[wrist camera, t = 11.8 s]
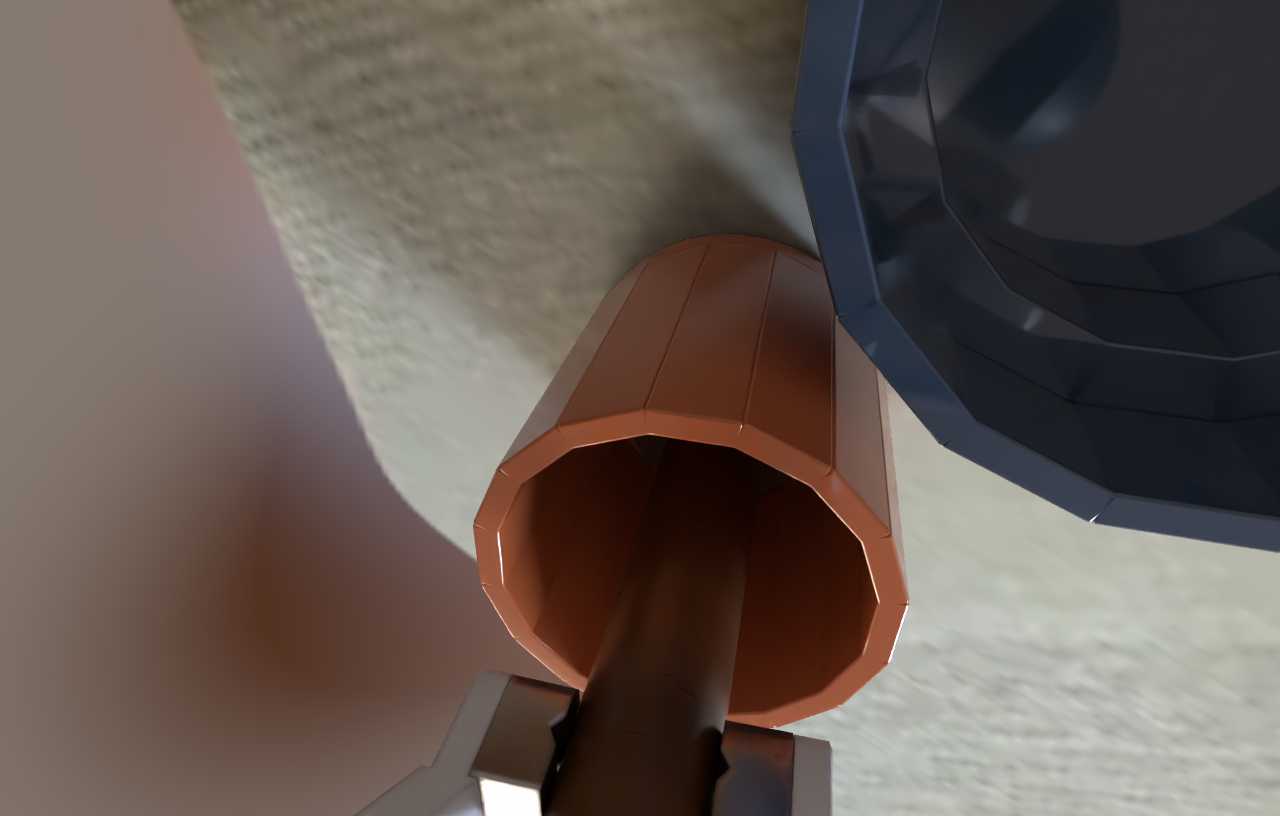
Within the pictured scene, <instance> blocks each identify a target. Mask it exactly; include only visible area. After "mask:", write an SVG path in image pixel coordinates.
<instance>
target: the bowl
mask: <svg viewBox="0 0 1280 816" xmlns="http://www.w3.org/2000/svg"><path fill="white" fill-rule="evenodd" d="M790 129H791V136H790V139H791V143H792V147H793V151H794V155H795V159H796V163H797V167H798V171H799V175H800V178H801V182H802V186H803V190H804V194H805V198H806V202H807V206H808V210H809V213H810V217H811V221H812V225H813V229H814V233H815V237H816V241H817V245H818V249H819V252H820V256H821V260H822V264H823V268H824V272H825V276H826V280H827V284H828V288H829V291H830V295H831V299H832V303H833V307H834V311H835V314H836V315H837V316H838V321H839V322H840V324H841V325H842V326H843V327H844V328H845V330H846V331H847V332H848V333H849V335H850V336H851V337H852V338H853V339H854V341H855V342H856V343H857V344H858V346H859V347H860V348H861V349H862V350H863V352H864V353H865V354H866V355H867V357H868V358H869V359H870V360H871V361H872V363H873V364H874V365H875V366H876V368H877V369H878V370H879V371H880V372H881V374H882V375H883V376H884V377H885V379H886V380H887V381H888V382H889V383H890V385H891V386H892V387H893V388H894V390H895V391H896V392H897V393H898V394H899V396H900V397H901V398H902V399H903V400H904V402H905V403H906V404H907V405H908V407H909V408H910V409H911V410H912V411H913V413H914V414H915V415H916V416H917V418H918V419H919V420H920V421H921V422H922V424H923V425H924V426H925V427H926V429H927V430H928V431H929V432H930V433H931V435H932V436H933V437H934V438H935V440H936V441H937V442H938V443H939V444H940V445H943V446H944V447H945V448H947V449H949V450H951V451H953V452H955V453H957V454H958V455H960V456H962V457H964V458H966V459H968V460H970V461H972V462H974V463H976V464H978V465H980V466H981V467H983V468H985V469H987V470H989V471H991V472H993V473H995V474H997V475H999V476H1001V477H1003V478H1004V479H1006V480H1008V481H1010V482H1012V483H1014V484H1016V485H1018V486H1020V487H1022V488H1024V489H1026V490H1028V491H1029V492H1031V493H1033V494H1035V495H1037V496H1039V497H1041V498H1043V499H1045V500H1047V501H1049V502H1051V503H1052V504H1054V505H1056V506H1058V507H1060V508H1062V509H1064V510H1066V511H1068V512H1070V513H1072V514H1074V515H1075V516H1077V517H1079V518H1081V519H1083V520H1085V521H1087V522H1091V521H1092V522H1093V523H1095V524H1099V525H1106V526H1112V527H1118V528H1124V529H1131V530H1137V531H1143V532H1150V533H1156V534H1162V535H1169V536H1175V537H1181V538H1188V539H1194V540H1200V541H1206V542H1213V543H1219V544H1225V545H1232V546H1238V547H1244V548H1251V549H1257V550H1263V551H1270V552H1276V553H1280V0H807V3H806V11H805V18H804V25H803V32H802V40H801V47H800V54H799V62H798V69H797V76H796V84H795V91H794V98H793V105H792V113H791V120H790Z"/></svg>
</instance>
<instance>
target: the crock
mask: <svg viewBox="0 0 1280 816" xmlns="http://www.w3.org/2000/svg"><path fill="white" fill-rule="evenodd" d="M647 434H650V435H656V436H663V437H669V438H676V439H682V440H688V441H695V442H701V443H708V444H714V445H721V446H727V447H734V448H736V449H738V450H740V451H742V452H744V453H746V454H748V455H750V456H752V457H754V458H756V459H757V460H759V461H761V462H763V463H765V464H767V465H769V466H771V467H773V468H775V469H777V470H779V471H781V472H783V473H785V474H787V475H789V476H791V477H793V478H791V479H790V480H789V481H788V482H786V483H784V484H783V485H781V486H780V487H778V488H776V489H773V490H771V491H769V492H766V493H763V494H760V495H758V497H757V504H756V511H755V519H754V526H753V533H752V541H751V548H750V555H749V563H748V570H747V577H746V585H745V592H744V599H743V606H742V614H741V621H740V628H739V636H738V643H737V650H736V658H735V665H734V672H733V680H732V687H731V694H730V702H729V709H728V716H727V720H728V721H734V722H739V723H744V724H749V725H754V726H759V727H764V728H774V727H780V726H783V725H786V724H789V723H792V722H795V721H798V720H801V719H804V718H807V717H810V716H813V715H816V714H819V713H822V712H825V711H828V710H831V709H834V708H837V707H839V706H840V705H843V704H844V703H845V702H846V701H847V700H848V699H850V698H851V697H852V696H853V695H854V694H855V693H856V692H858V691H859V690H860V689H861V688H862V687H863V686H864V685H866V684H867V683H868V682H869V681H870V680H871V679H872V678H874V677H875V676H876V675H877V674H878V673H879V672H880V671H881V670H883V669H884V668H885V667H886V666H887V665H888V662H890V660H891V657H892V654H893V651H894V648H895V645H896V642H897V639H898V636H899V633H900V630H901V627H902V624H903V621H904V618H905V615H906V612H907V609H908V606H909V594H908V585H907V576H906V566H905V557H904V548H903V539H902V530H901V521H900V512H899V502H898V493H897V484H896V475H895V466H894V457H893V448H892V438H891V429H890V420H889V411H888V402H887V393H886V384H885V378H884V376H883V375H882V374H881V372H880V371H879V370H878V369H877V368H876V366H875V365H874V364H873V363H872V361H871V360H870V359H869V358H868V357H867V355H866V354H865V353H864V352H863V350H862V349H861V348H860V347H859V346H858V344H857V343H856V342H855V341H854V339H853V338H852V337H851V336H850V335H849V333H848V332H847V331H846V330H845V328H844V327H843V326H842V325H841V324H840V322H839V321H838V316H837V315H836V314H835V311H834V307H833V303H832V299H831V295H830V291H829V288H828V284H827V280H826V276H825V272H824V268H823V264H822V263H821V262H819V261H818V260H816V259H814V258H813V257H811V256H809V255H808V254H806V253H804V252H802V251H800V250H797V249H795V248H793V247H791V246H788V245H786V244H783V243H779V242H776V241H773V240H770V239H766V238H760V237H754V236H749V235H734V234H720V235H708V236H701V237H696V238H692V239H687V240H683V241H680V242H678V243H675V244H672V245H669V246H666V247H664V248H662V249H660V250H658V251H657V252H655V253H653V254H651V255H649V256H647V257H646V258H645V259H643V260H642V261H640V262H639V263H638V264H636V265H635V266H633V267H632V268H631V269H630V270H629V271H628V272H627V273H626V274H625V275H624V276H623V277H622V278H621V279H620V280H619V281H618V283H617V284H616V285H615V286H614V288H613V289H612V290H611V291H610V292H609V293H608V294H607V295H606V296H605V297H604V299H603V300H602V302H601V303H600V305H599V307H598V308H597V310H596V311H595V313H594V314H593V316H592V318H591V319H590V321H589V322H588V324H587V326H586V327H585V329H584V330H583V332H582V334H581V335H580V337H579V338H578V340H577V342H576V343H575V345H574V346H573V348H572V350H571V351H570V353H569V354H568V356H567V358H566V359H565V361H564V362H563V364H562V365H561V367H560V369H559V370H558V372H557V373H556V375H555V377H554V378H553V380H552V381H551V383H550V385H549V386H548V388H547V389H546V391H545V393H544V394H543V396H542V397H541V399H540V401H539V402H538V404H537V405H536V407H535V409H534V410H533V412H532V413H531V415H530V417H529V418H528V420H527V421H526V423H525V424H524V426H523V428H522V429H521V431H520V432H519V434H518V436H517V437H516V439H515V440H514V442H513V444H512V445H511V447H510V448H509V450H508V452H507V453H506V455H505V456H504V458H503V460H502V461H501V463H500V464H499V466H498V468H497V469H496V472H495V474H494V476H493V478H492V481H491V483H490V485H489V487H488V490H487V492H486V494H485V497H484V499H483V501H482V503H481V506H480V508H479V510H478V513H477V515H476V517H475V519H474V525H473V529H474V537H475V545H476V554H477V562H478V570H479V579H480V582H481V586H482V588H483V589H484V591H485V593H486V594H487V596H488V598H489V599H490V601H491V603H492V604H493V606H494V608H495V609H496V611H497V613H498V614H499V616H500V617H501V619H502V621H503V622H504V624H505V626H506V627H507V629H508V631H509V632H510V634H511V636H512V637H514V639H515V640H516V641H517V642H518V643H519V644H520V645H522V646H523V647H524V648H525V649H526V650H527V651H528V652H530V653H531V654H532V655H533V656H534V657H536V658H537V659H538V660H539V661H540V662H541V663H543V664H544V665H545V666H546V667H547V668H548V669H550V670H551V671H552V672H553V673H554V674H555V675H557V676H558V677H559V678H560V679H561V680H562V681H564V682H567V684H568V685H571V686H573V687H575V688H577V689H579V690H581V691H583V692H584V690H585V687H586V684H587V681H588V678H589V675H590V672H591V669H592V666H593V663H594V660H595V657H596V654H597V651H598V648H599V645H600V642H601V639H602V636H603V633H604V630H605V627H606V624H607V621H608V618H609V615H610V612H611V608H612V605H613V602H614V599H615V596H616V593H617V590H618V587H619V584H620V581H621V578H622V575H623V572H624V569H625V566H626V563H627V560H628V557H629V554H630V551H631V548H632V545H633V542H634V539H635V536H636V533H637V530H638V527H639V524H640V521H641V517H642V514H643V511H644V508H645V505H646V502H647V499H648V496H649V493H650V490H651V487H652V484H653V481H654V478H655V475H656V472H657V470H655V469H654V468H653V467H652V466H651V465H650V463H649V462H648V461H647V460H646V459H645V458H644V456H643V455H642V453H641V452H640V450H639V449H638V447H637V445H636V443H635V441H634V438H633V437H637V436H642V435H647Z"/></svg>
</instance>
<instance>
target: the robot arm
mask: <svg viewBox="0 0 1280 816" xmlns="http://www.w3.org/2000/svg"><path fill="white" fill-rule="evenodd" d="M579 705H580V695H579V689H575V688H571V687H566V686H562V685H557V684H553V683H548V682H544V681H539V680H535V679H530V678H526V677H521V676H517V675H514V674H510V673H505V672H501V671H495V670H491V669H486V668H482V669H481V670H480V671H479V672H478V674H477V675H476V676H475V677H474V679H473V681H472V683H471V685H470V688H469V689H468V691H467V694H466V695H465V698H464V700H463V702H462V704H461V706H460V708H459V710H458V712H457V714H456V716H455V718H454V720H453V722H452V724H451V726H450V729H449V731H448V732H447V735H446V737H445V739H444V741H443V743H442V745H441V747H440V749H439V751H438V753H437V755H436V757H435V759H434V761H433V763H432V765H431V767H428V766H423V765H421V766H420V767H418V768H417V769H416V770H414V771H413V772H412V773H410V774H409V775H407V776H406V777H405V778H404V779H402V780H401V781H399V782H398V783H397V784H395V785H394V786H393V787H391V788H390V789H389V790H387V791H386V792H385V793H383V794H382V795H380V796H379V797H378V798H376V799H375V800H374V801H372V802H371V803H370V804H368V805H367V806H366V807H364V808H363V809H362V810H360V811H359V812H358V813H356V814H355V815H353V816H543V815H544V812H545V809H546V806H547V803H548V800H549V797H550V794H551V790H552V787H553V784H554V781H555V778H556V775H557V772H558V769H559V766H560V763H561V760H562V757H563V754H564V751H565V748H566V745H567V742H568V739H569V736H570V733H571V730H572V727H573V724H574V721H575V718H576V714H577V711H578V708H579ZM716 776H717V781H716V787H715V792H714V798H713V804H712V811H711V816H832V748H831V745H830V743H829V741H825V740H819V739H814V738H809V737H804V736H799V735H793V733H790V732H785V731H780V730H774V729H769V728H764V727H759V726H754V725H749V724H744V723H739V722H734V721H728V720H725V722H724V728H723V734H722V741H721V747H720V754H719V761H718V768H717V774H716Z"/></svg>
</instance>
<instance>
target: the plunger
mask: <svg viewBox="0 0 1280 816" xmlns="http://www.w3.org/2000/svg"><path fill="white" fill-rule="evenodd" d="M633 438H634V441H635V443H636V445H637V447H638V449H639V450H640V452H641V453H642V455H643V456H644V458H645V459H646V460H647V461H648V462H649V463H650V465H651V466H652V467H653V468H654V469H655V470H657V472H656V475H655V478H654V481H653V484H652V487H651V490H650V493H649V496H648V499H647V502H646V505H645V508H644V511H643V514H642V517H641V521H640V524H639V527H638V530H637V533H636V536H635V539H634V542H633V545H632V548H631V551H630V554H629V557H628V560H627V563H626V566H625V569H624V572H623V575H622V578H621V581H620V584H619V587H618V590H617V593H616V596H615V599H614V602H613V605H612V608H611V612H610V615H609V618H608V621H607V624H606V627H605V630H604V633H603V636H602V639H601V642H600V645H599V648H598V651H597V654H596V657H595V660H594V663H593V666H592V669H591V672H590V675H589V678H588V681H587V684H586V687H585V690H584V694H583V696H582V700H581V703H580V706H579V709H578V712H577V715H576V718H575V721H574V724H573V727H572V730H571V733H570V736H569V739H568V742H567V745H566V748H565V751H564V754H563V757H562V760H561V763H560V766H559V769H558V772H557V775H556V778H555V781H554V784H553V787H552V790H551V794H550V797H549V800H548V803H547V806H546V809H545V812H544V815H543V816H711V811H712V804H713V798H714V792H715V787H716V781H717V776H716V774H717V768H718V761H719V754H720V747H721V741H722V734H723V728H724V722H725V720H727V716H728V709H729V702H730V694H731V687H732V680H733V672H734V665H735V658H736V650H737V643H738V636H739V628H740V621H741V614H742V606H743V599H744V592H745V585H746V577H747V570H748V563H749V555H750V548H751V541H752V533H753V526H754V519H755V511H756V504H757V497H758V495H760V494H763V493H766V492H769V491H771V490H773V489H776V488H778V487H780V486H781V485H783V484H784V483H786V482H788V481H789V480H790V479H791V478H793V477H791V476H789V475H787V474H785V473H783V472H781V471H779V470H777V469H775V468H773V467H771V466H769V465H767V464H765V463H763V462H761V461H759V460H757V459H756V458H754V457H752V456H750V455H748V454H746V453H744V452H742V451H740V450H738V449H736V448H734V447H727V446H721V445H714V444H708V443H701V442H695V441H688V440H682V439H676V438H669V437H663V436H656V435H650V434H647V435H642V436H637V437H633Z"/></svg>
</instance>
